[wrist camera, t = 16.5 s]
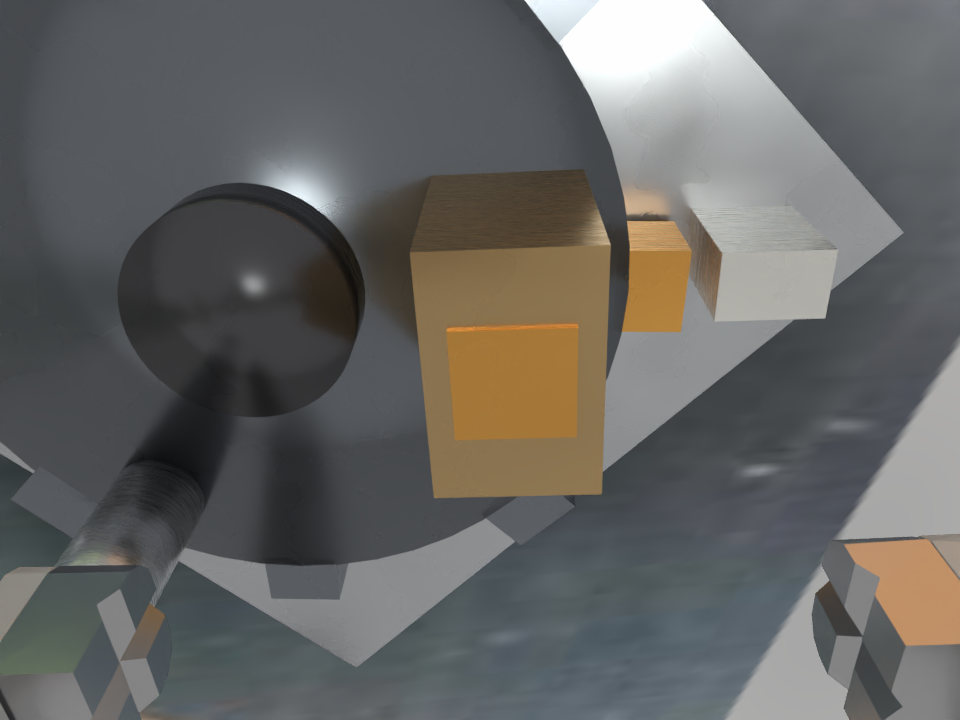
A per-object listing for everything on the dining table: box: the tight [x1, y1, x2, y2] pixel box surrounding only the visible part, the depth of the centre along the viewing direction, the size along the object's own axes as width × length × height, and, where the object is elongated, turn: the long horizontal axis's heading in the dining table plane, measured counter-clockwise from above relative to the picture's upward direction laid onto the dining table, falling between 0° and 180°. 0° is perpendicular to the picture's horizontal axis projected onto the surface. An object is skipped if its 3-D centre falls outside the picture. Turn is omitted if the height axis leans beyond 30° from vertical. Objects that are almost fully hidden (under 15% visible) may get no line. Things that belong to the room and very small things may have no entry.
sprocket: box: [0, 0, 692, 607], centre depth 16 cm, size 20×20×8 cm
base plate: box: [0, 0, 904, 667], centre depth 19 cm, size 22×22×4 cm
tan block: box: [410, 169, 611, 498], centre depth 15 cm, size 5×3×5 cm, turn 3°
